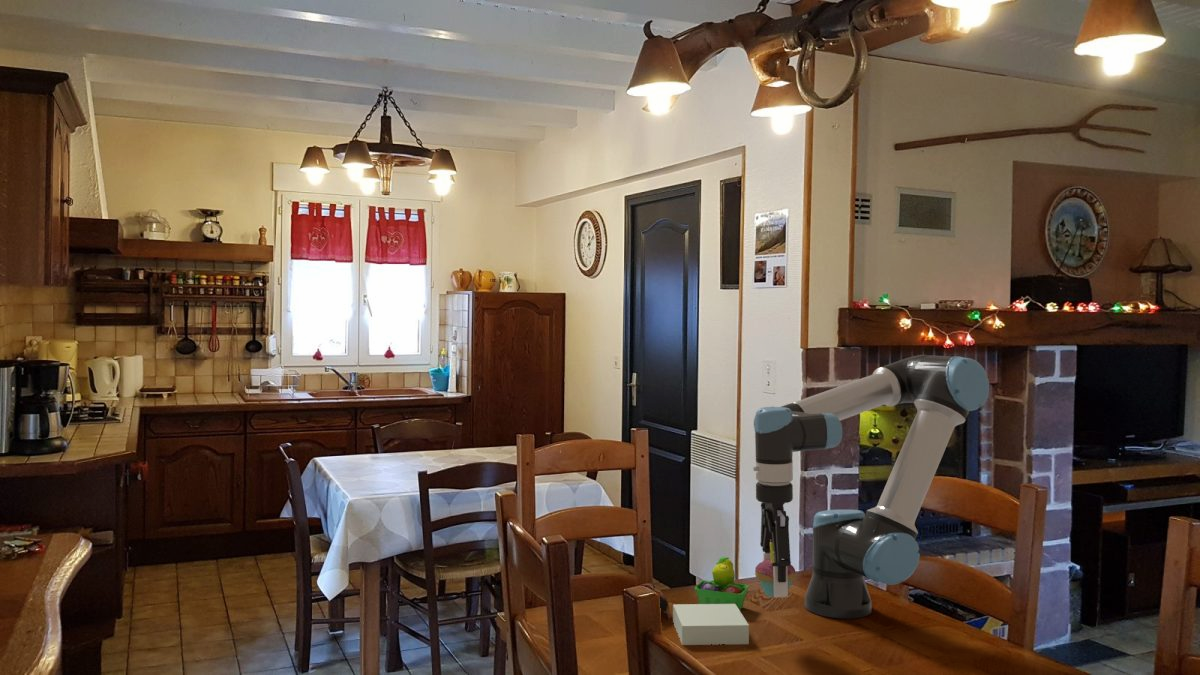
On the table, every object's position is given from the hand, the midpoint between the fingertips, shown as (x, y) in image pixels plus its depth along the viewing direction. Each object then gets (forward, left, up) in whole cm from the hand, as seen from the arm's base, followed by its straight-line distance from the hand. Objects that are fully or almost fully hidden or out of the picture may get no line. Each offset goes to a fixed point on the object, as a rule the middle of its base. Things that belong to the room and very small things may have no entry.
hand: (775, 589), depth 189 cm
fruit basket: (+7, -24, -12) cm, 27 cm away
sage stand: (+13, -7, -11) cm, 18 cm away
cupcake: (0, 0, -1) cm, 1 cm away
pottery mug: (+24, -19, -12) cm, 33 cm away
